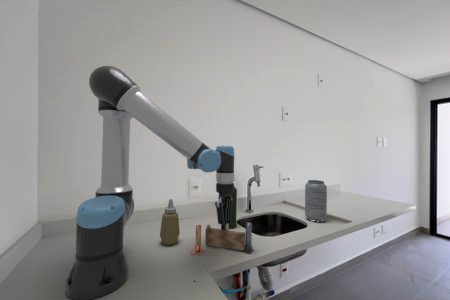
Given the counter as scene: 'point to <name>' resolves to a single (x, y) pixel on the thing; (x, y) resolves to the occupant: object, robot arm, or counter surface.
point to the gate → (225, 238)
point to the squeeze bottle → (170, 225)
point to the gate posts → (247, 240)
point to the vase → (316, 200)
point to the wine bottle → (233, 210)
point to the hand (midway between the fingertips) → (224, 239)
